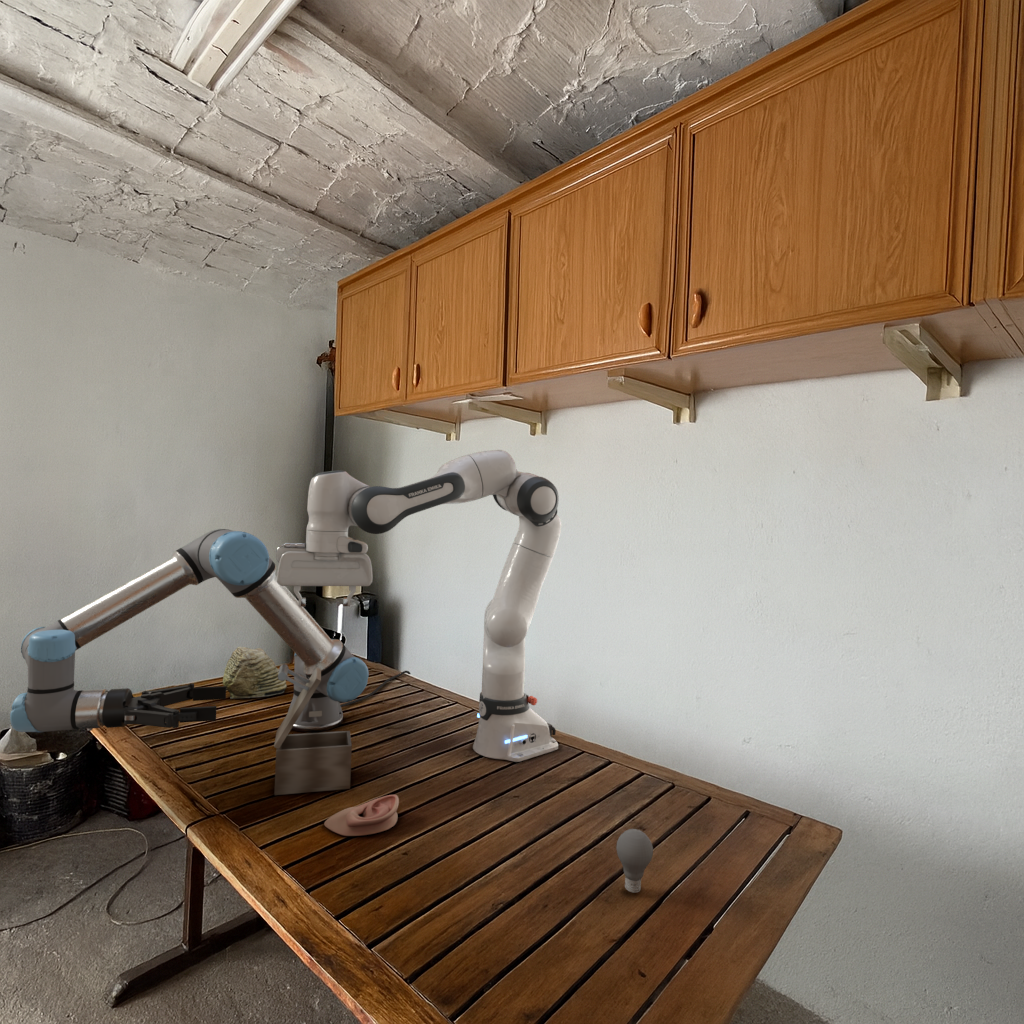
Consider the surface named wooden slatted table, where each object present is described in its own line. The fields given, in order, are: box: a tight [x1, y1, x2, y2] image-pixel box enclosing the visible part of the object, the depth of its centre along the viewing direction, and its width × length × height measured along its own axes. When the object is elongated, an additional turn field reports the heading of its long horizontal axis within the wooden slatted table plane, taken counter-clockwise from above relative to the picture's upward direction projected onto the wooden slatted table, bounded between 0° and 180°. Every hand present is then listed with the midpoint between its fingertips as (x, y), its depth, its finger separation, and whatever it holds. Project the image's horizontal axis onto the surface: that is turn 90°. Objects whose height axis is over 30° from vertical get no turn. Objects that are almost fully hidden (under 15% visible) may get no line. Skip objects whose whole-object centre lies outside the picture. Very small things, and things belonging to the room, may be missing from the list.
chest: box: [273, 730, 353, 796], centre depth 140 cm, size 16×9×9 cm, turn 107°
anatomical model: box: [323, 794, 400, 837], centre depth 124 cm, size 13×4×12 cm
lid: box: [273, 663, 321, 749], centre depth 138 cm, size 16×9×8 cm
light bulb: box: [615, 828, 654, 894], centre depth 106 cm, size 6×6×10 cm
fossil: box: [222, 646, 288, 699], centre depth 198 cm, size 9×18×15 cm, turn 132°
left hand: (221, 702), depth 134 cm, fingers open, 13 cm apart
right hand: (324, 606), depth 140 cm, fingers open, 8 cm apart
